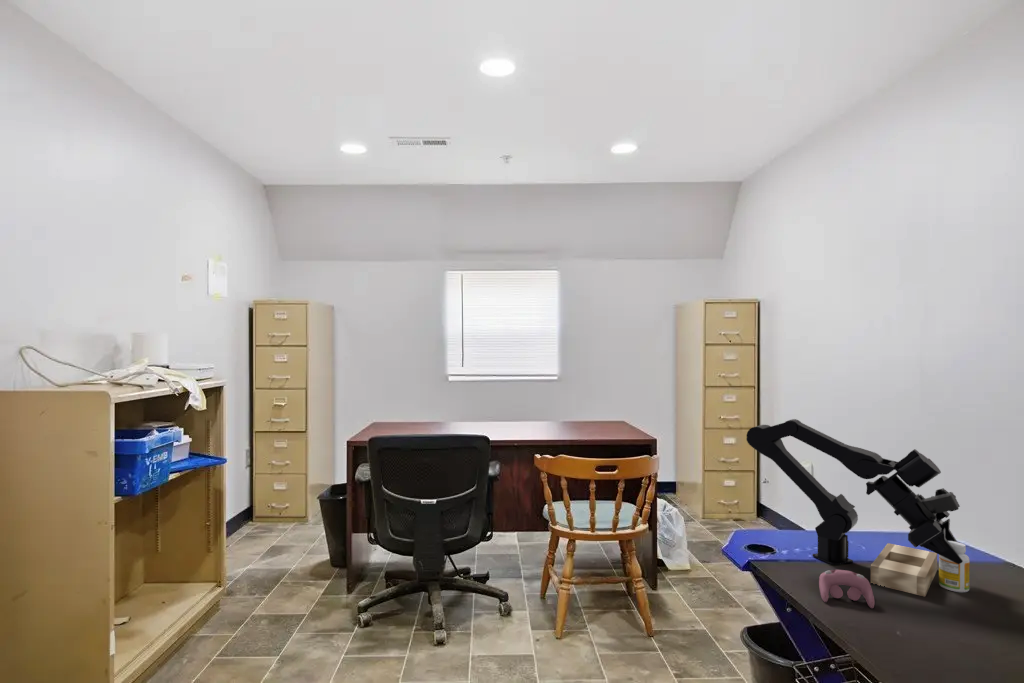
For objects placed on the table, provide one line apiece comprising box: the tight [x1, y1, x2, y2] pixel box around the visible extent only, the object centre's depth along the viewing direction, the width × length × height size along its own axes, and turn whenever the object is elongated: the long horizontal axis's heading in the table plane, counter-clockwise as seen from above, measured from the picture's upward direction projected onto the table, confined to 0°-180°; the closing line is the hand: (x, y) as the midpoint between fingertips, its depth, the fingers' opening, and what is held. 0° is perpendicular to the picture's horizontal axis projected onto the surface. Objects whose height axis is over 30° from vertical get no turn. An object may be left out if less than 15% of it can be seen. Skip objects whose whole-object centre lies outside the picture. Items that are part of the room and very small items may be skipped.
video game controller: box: [818, 569, 875, 609], centre depth 122 cm, size 10×5×7 cm, turn 71°
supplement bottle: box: [938, 541, 971, 593], centre depth 128 cm, size 5×5×10 cm
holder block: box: [870, 542, 938, 597], centre depth 134 cm, size 10×20×4 cm, turn 138°
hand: (962, 559), depth 127 cm, fingers closed on supplement bottle, 5 cm apart
